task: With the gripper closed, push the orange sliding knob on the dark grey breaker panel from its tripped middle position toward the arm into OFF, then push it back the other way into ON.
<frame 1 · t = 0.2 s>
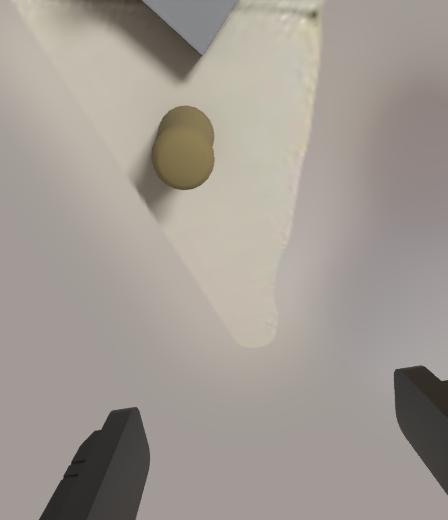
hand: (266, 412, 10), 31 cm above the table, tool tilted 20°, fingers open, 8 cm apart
olive pawn: (186, 136, 34), on the table
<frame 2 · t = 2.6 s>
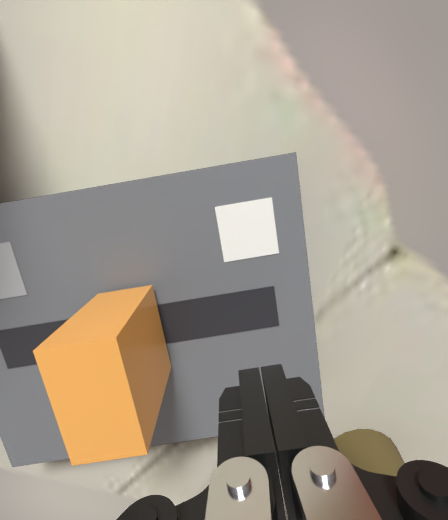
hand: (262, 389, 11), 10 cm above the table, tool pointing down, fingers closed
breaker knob: (118, 360, 14), point 6 cm above the table, slide at 0.0 cm
olive pawn: (358, 460, 24), on the table
breaker panel: (149, 308, 21), on the table
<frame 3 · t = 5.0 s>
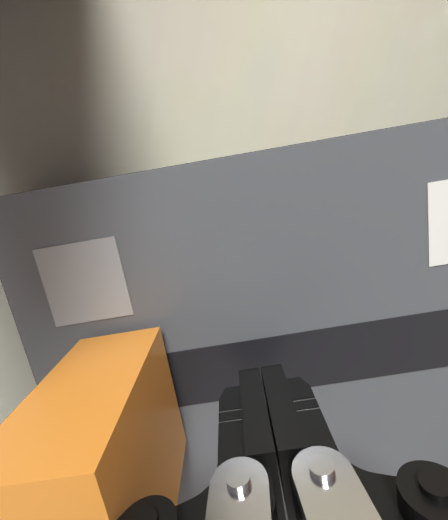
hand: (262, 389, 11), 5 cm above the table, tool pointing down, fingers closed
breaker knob: (107, 457, 9), point 6 cm above the table, slide at -6.0 cm, touching hand
breaker panel: (275, 328, 15), on the table
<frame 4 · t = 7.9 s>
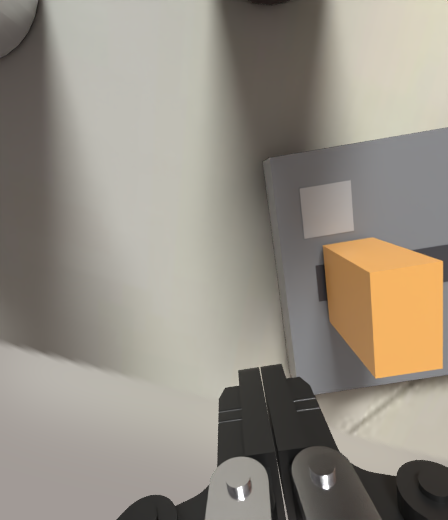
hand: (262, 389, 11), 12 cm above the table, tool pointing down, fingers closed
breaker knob: (373, 297, 16), point 6 cm above the table, slide at -6.1 cm
breaker panel: (415, 253, 22), on the table
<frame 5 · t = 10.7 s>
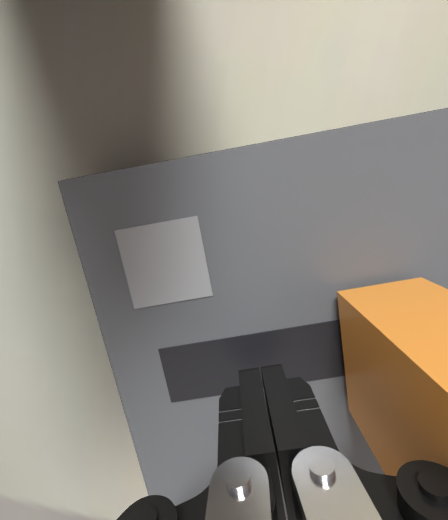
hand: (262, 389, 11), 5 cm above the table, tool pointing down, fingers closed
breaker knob: (436, 400, 9), point 6 cm above the table, slide at 0.5 cm, touching hand
breaker panel: (338, 313, 15), on the table
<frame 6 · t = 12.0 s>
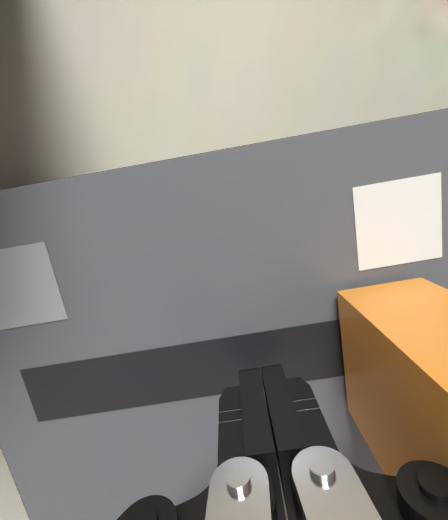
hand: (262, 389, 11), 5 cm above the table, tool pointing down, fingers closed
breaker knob: (436, 400, 9), point 6 cm above the table, slide at 6.0 cm, touching hand
breaker panel: (224, 331, 15), on the table
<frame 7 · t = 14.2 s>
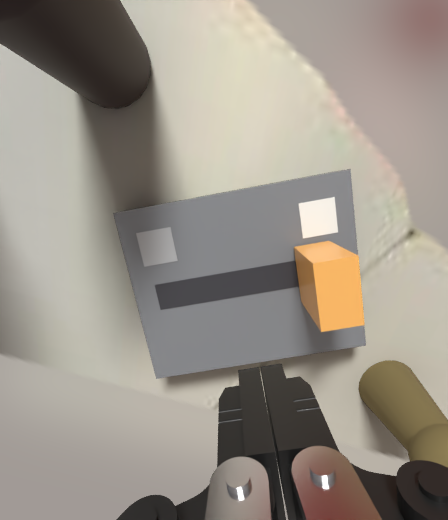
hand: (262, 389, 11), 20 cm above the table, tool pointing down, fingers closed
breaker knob: (325, 282, 24), point 6 cm above the table, slide at 6.1 cm
bottle: (113, 67, 27), on the table
olive pawn: (386, 384, 33), on the table
breaker panel: (243, 273, 30), on the table
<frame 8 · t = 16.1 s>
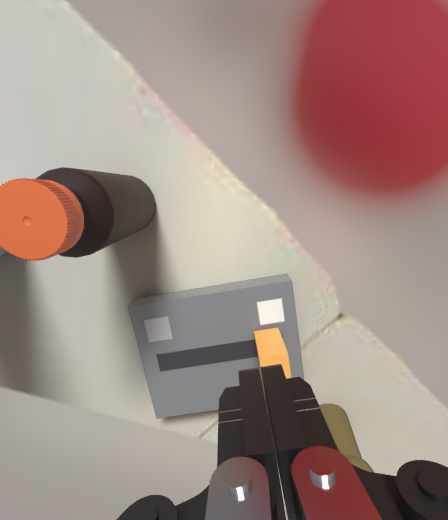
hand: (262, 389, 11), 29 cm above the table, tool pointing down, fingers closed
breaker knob: (272, 360, 36), point 6 cm above the table, slide at 6.1 cm
bottle: (128, 204, 38), on the table
olive pawn: (326, 420, 45), on the table
breaker panel: (220, 341, 42), on the table
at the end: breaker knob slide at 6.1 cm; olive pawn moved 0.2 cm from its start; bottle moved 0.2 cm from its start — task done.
